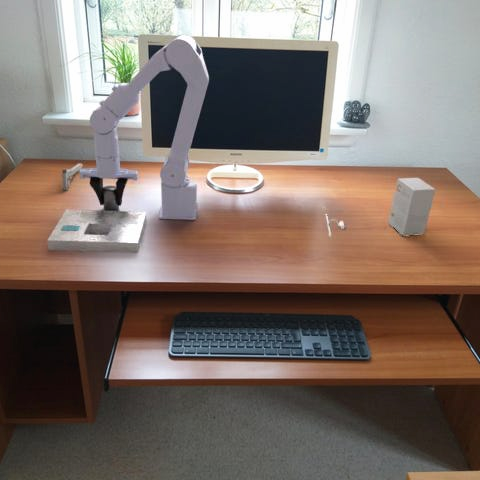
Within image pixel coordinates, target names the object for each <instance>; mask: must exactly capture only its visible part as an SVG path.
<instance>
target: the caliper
mask: <svg viewBox="0 0 480 480" xmlns="http://www.w3.org/2000/svg"><path fill="white" fill-rule="evenodd" d="M83 166H84V164H82V163H77V164H76V165H74V166H73V167H71V168H70V169H68V168H63V169H62V174H61V176H62V177H61V179H62V180H61V181H62V188H63V191H69V189H70V180H72V179H73V176H74V175H75V174H76V173H77V172H79V171H80V169H83Z"/></svg>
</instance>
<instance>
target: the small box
mask: <svg viewBox="0 0 480 480" xmlns="http://www.w3.org/2000/svg"><path fill="white" fill-rule="evenodd" d="M435 193H436V188H434V187H433V186H431V185H430V184H428V183H427V182H426V181H424V180H423V179H421V178H419V177H406V178H403V177H402V178H399V177H398V178H397V181H396V186H395V190H394V194H393V199H392V204H391V208H390V212H389V217H388V221H387V224H388V223H389V224H388V225H390V226H391V227H392V228H393V227H394V228H395V229H396V230H397V231H398V232H399V233H398V232H397V231H396V230H395V229H394V228H393V229H394V230H395V231H396V232H397V233H398V234H400V235H401V234H402V235H403V236H406V235H415V234H424V235H425V232H426V229H427V225H428V221H429V216H430V212H431V209H432V205H433V202H434V198H435V197H434V196H435ZM402 235H401V236H402ZM403 236H402V237H403ZM406 237H407V236H406Z"/></svg>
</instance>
